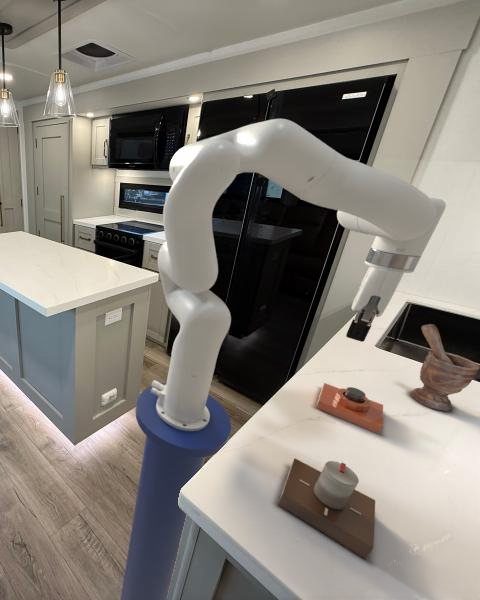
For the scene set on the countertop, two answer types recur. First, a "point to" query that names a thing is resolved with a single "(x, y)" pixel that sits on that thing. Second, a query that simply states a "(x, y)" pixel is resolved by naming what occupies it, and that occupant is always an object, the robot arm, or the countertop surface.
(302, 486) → the lock panel
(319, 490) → the lock knob
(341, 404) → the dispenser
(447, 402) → the mortar and pestle
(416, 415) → the countertop surface
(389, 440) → the countertop surface
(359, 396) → the dark grey push button
